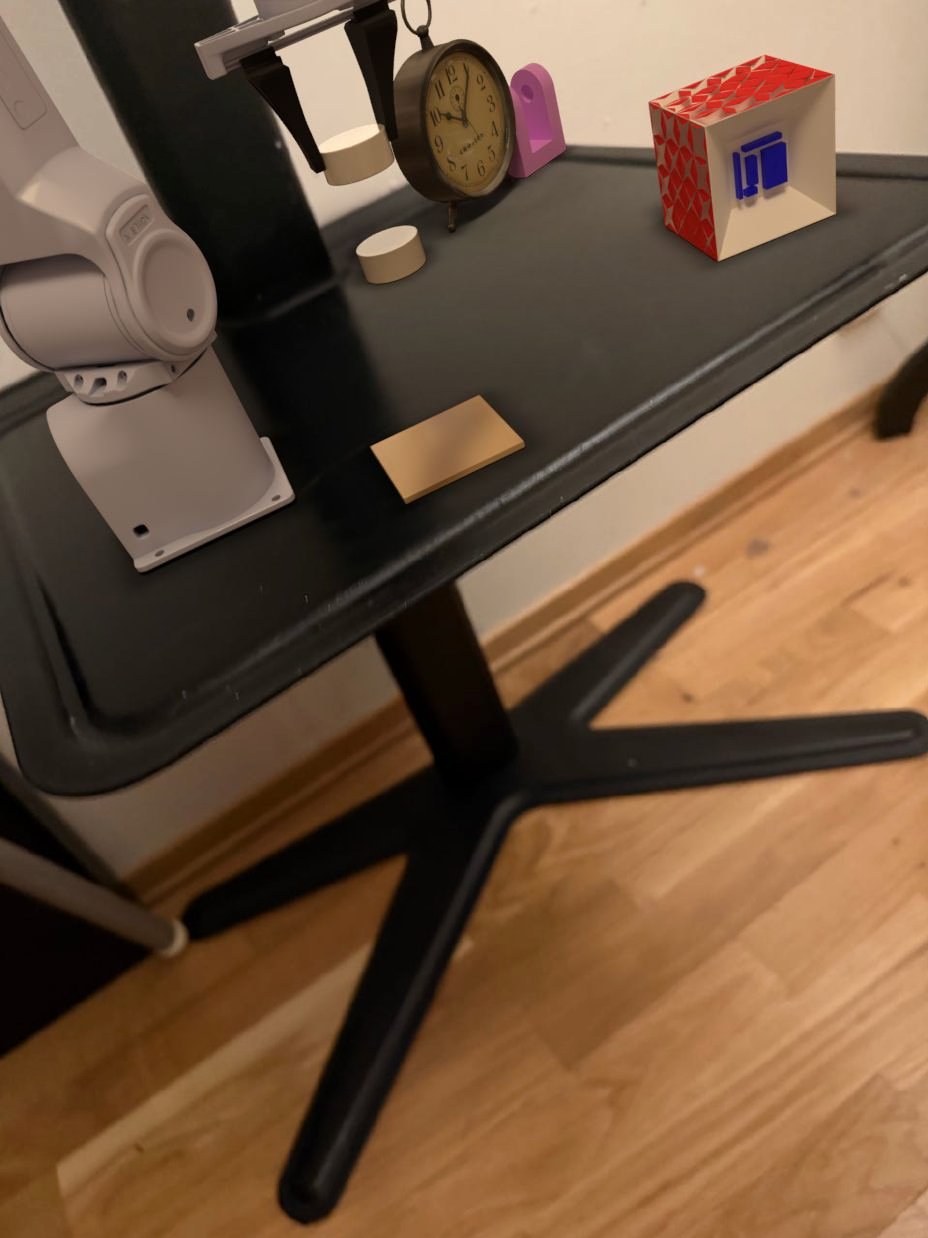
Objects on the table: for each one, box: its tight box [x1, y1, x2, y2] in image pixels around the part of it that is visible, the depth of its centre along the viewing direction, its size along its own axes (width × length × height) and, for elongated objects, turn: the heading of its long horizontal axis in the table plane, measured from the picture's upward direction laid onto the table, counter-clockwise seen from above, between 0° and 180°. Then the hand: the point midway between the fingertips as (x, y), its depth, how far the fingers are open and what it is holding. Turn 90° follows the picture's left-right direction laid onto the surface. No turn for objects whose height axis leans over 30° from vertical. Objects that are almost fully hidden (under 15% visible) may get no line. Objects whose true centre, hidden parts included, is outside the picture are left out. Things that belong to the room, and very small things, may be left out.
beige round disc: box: [355, 225, 427, 285], centre depth 70 cm, size 5×5×2 cm
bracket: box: [508, 62, 567, 179], centre depth 79 cm, size 13×6×7 cm, turn 46°
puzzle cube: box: [647, 54, 837, 262], centre depth 56 cm, size 8×8×8 cm
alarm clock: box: [390, 0, 516, 232], centre depth 70 cm, size 11×5×16 cm, turn 142°
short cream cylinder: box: [317, 123, 396, 187], centre depth 62 cm, size 5×5×2 cm
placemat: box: [369, 394, 526, 505], centre depth 49 cm, size 7×6×1 cm
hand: (355, 153), depth 62 cm, fingers closed on short cream cylinder, 5 cm apart
